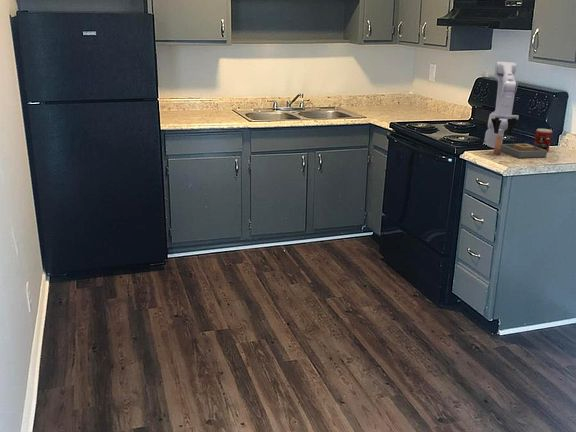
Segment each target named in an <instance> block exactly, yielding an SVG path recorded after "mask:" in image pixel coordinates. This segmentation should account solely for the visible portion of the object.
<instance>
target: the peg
mask: <svg viewBox="0 0 576 432" xmlns="http://www.w3.org/2000/svg"><path fill="white" fill-rule="evenodd" d="M501 142H502V143H503V141H502V136H496V140H495V146H494V148H493V153H492V154H493V155H496V156H499V155H500V154H501V151H500V148H501Z"/></svg>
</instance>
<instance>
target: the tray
mask: <svg viewBox="0 0 576 432" xmlns="http://www.w3.org/2000/svg"><path fill="white" fill-rule="evenodd" d="M501 152H502V153H504V154H506V155H509V156H511V157H514V158H515V159H521V160H522V159H539V158H540V159H542V158H544V159H545V158H547V155H548V152H547V150H544V149H541V148H538V147H535V146H534V145H532V144H529V143H502V144H501V148H500V153H501Z"/></svg>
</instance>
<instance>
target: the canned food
mask: <svg viewBox="0 0 576 432" xmlns="http://www.w3.org/2000/svg"><path fill="white" fill-rule="evenodd" d="M552 136H553V130H552V129H549V128H548V129H547V128H537V129H536V130H535V136H534V142H533V146H535V147H538V148H541V149H544V150H547V153H548V152H549V151H550V146H551V140H552Z"/></svg>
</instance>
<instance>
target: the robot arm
mask: <svg viewBox="0 0 576 432" xmlns="http://www.w3.org/2000/svg"><path fill="white" fill-rule="evenodd" d="M494 68H495V69H494V79H495V80H497V89H496V100H495V109H494V111H492V112H491V113H490V114H489V117H488V120H487V129H486V131H485V133H484V142H482V143H483V144H482V145H484V144H485V145H484V146H486V145H487V147H489V148H492V149H494V146H495V140H496V136H502V142H501V144H503V140H504V133H505V131H506V132H507V133H506V134H509V135H511V134H512V132H513V130H514V128H515V126H516V125H517V123H519V116H520V115H518V114H513V107H514V101H515V95H516V93H517V89H518V81H517V80H516V79H515V74H516V71H517V63H516V62H511V61H510V62H508V61H498V60H497V61H496V63H495V67H494Z"/></svg>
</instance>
